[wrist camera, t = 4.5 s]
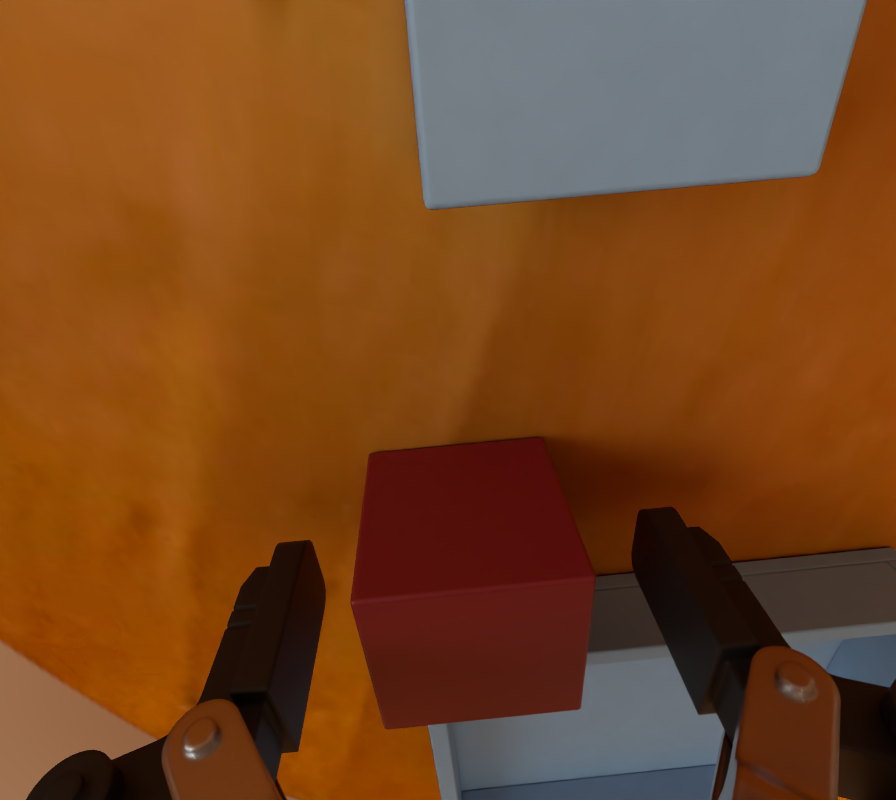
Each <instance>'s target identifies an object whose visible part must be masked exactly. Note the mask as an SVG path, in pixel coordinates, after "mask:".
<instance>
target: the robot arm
mask: <svg viewBox="0 0 896 800" xmlns="http://www.w3.org/2000/svg"><path fill="white" fill-rule="evenodd" d="M632 565H633V570H634V573H635V576H636V579H637V581H638V583H639V586H640V588H641V590H642V592H643V594H644V597H645V599H646V601H647V603H648V605H649V608H650V610H651V612H652V614H653V616H654V619H655V621H656V623H657V625H658V627H659V630H660V632H661V634H662V636H663V638H664V641H665V643H666V645H667V647H668V649H669V652H670V654H671V656H672V658H673V660H674V663H675V665H676V667H677V669H678V671H679V674H680V676H681V678H682V680H683V682H684V685H685V687H686V689H687V691H688V693H689V696H690V698H691V700H692V702H693V704H694V707H695V709H696V711H697V713H698V715H705V714H716V713H717V715H718V718H719V720H720V722H721V724H722V726H723V728H724V730H723V733H722V736H721V741H720V746H719V751H718V756H717V761H716V766H715V771H714V776H713V781H712V786H711V791H710V796H709V800H838V796H839V797H843V798H847V799H850V800H896V679H895V680H894V682H893V683H892V685H891V686H890V688H889V687H885V686H880V685H875V684H870V683H866V682H861V681H856V680H852V679H847V678H842V677H839V676H835V675H832V674H830V673H828V672H827V671H826V670H825V669H824V668H823V667H822V666H821V665H820V664H819V663H817V662H816V661H815V660H813V659H812V658H810V657H809V656H807V655H805V654H803V653H801V652H799V651H797V650H794V649H792V648H791V647H790V646H789V645H788V643H787V642H786V641H785V639H784V638H783V636H782V635H781V633H780V632H779V630H778V629H777V628H776V626H775V625H774V623H773V622H772V620H771V619H770V617H769V616H768V614H767V613H766V611H765V610H764V608H763V607H762V605H761V604H760V602H759V601H758V600H757V598H756V597H755V595H754V594H753V592H752V591H751V589H750V588H749V586H748V585H747V583H746V582H745V581H743V580H742V576H741V574H740V573H739V572H738V570H737V569H736V567H735V566H734V565H732V561H731V560H730V558H729V557H728V555H727V554H726V552H725V551H724V549H723V548H722V546H721V545H720V544H719V542H718V541H716V540H715V539H714V538H713V537H711V536H710V535H709V534H708V533H706V532H705V531H704V530H703V529H701V528H700V527H689V528H687V526H686V525H685V523H684V522H683V520H682V518H681V517H680V515H679V514H678V512H677V511H676V510H675V509H674V508H673V507H662V508H652V509H641V510H639V512H638V515H637V521H636V528H635V534H634V540H633V546H632ZM325 601H326V590H325V582H324V578H323V575H322V572H321V569H320V566H319V562H318V559H317V556H316V553H315V550H314V546H313V544H312V542H311V541H310V540H304V541H294V542H283V543H278V544H277V546H276V548H275V551H274V554H273V557H272V560H271V563H270V566H268V567H257V568H256V569H255V570H254V571H253V573H252V574H251V575H250V576H249V578H248V579H247V580H246V581H245V582H244V584H243V585H242V586H241V588H240V591H239V594H238V597H237V599H236V602H235V605H234V611H233V612H232V613H231V616H230V619H229V621H228V624H227V626H228V627H227V629H226V630H225V632H224V635H223V638H222V641H221V643H220V646H219V649H218V652H217V654H216V657H215V660H214V662H213V665H212V668H211V671H210V673H209V676H208V679H207V682H206V684H205V687H204V690H203V693H202V695H201V697H200V700H199V702H198V703H197V705H196V706H195V707H194V708H192V709H191V710H189V711H188V712H187V713H185V714H184V715H183V716H182V717H181V718H180V719H179V720H178V721H177V723H176V724H175V725H174V726H173V728H172V729H171V731H170V732H169V734H168V735H166V736H165V737H163V738H161V739H159V740H157V741H155V742H153V743H151V744H148V745H146V746H144V747H141V748H139V749H136V750H134V751H132V752H129V753H127V754H125V755H122V756H120V757H118V758H116V759H113V760H111V759H110V758H109V757H108V756H107V755H106V754H105V753H103V752H101V751H97V750H87V751H83V752H79V753H77V754H74V755H72V756H70V757H68V758H66V759H64V760H63V761H61V762H60V763H59V764H57V765H56V766H55V767H53V768H52V769H51V770H50V771H49V772H48V773H47V774H45V775H44V776H43V778H41V780H40V781H39V782H38V783H37V784H36V785H35V787H34V788H33V790H32V791H31V792H30V794H29V796H28V797H27V799H26V800H287V798H286V796H285V794H284V792H283V790H282V788H281V785H280V783H279V781H278V779H277V772H278V768H279V763H280V758H281V753H289V752H298V750H299V744H300V739H301V733H302V728H303V723H304V717H305V712H306V706H307V701H308V696H309V690H310V685H311V679H312V674H313V669H314V663H315V658H316V652H317V647H318V642H319V636H320V631H321V625H322V620H323V615H324V609H325Z"/></svg>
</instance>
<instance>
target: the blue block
mask: <svg viewBox="0 0 896 800" xmlns="http://www.w3.org/2000/svg"><path fill="white" fill-rule="evenodd" d="M404 1H405V12H406V23H407V33H408V44H409V55H410V65H411V76H412V87H413V97H414V108H415V119H416V129H417V140H418V151H419V161H420V171H421V180H422V190H423V199H424V204H425V206H426V208H428V209H431V210H438V209H449V208H461V207H472V206H483V205H494V204H505V203H517V202H528V201H539V200H550V199H561V198H573V197H584V196H595V195H606V194H617V193H629V192H640V191H651V190H662V189H673V188H685V187H696V186H707V185H718V184H729V183H741V182H752V181H763V180H774V179H785V178H797V177H808V176H810V175H813V174H815V173H817V171H818V170H819V168H820V165H821V161H822V157H823V154H824V150H825V147H826V143H827V140H828V136H829V133H830V129H831V126H832V122H833V119H834V115H835V112H836V108H837V105H838V101H839V98H840V94H841V91H842V87H843V84H844V80H845V77H846V73H847V70H848V66H849V62H850V59H851V55H852V52H853V48H854V45H855V41H856V38H857V34H858V31H859V27H860V24H861V20H862V17H863V13H864V10H865V6H866V3H867V0H404Z"/></svg>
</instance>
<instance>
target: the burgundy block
mask: <svg viewBox="0 0 896 800" xmlns="http://www.w3.org/2000/svg"><path fill="white" fill-rule="evenodd" d="M595 585H596V575H595V573H594V570H593V568H592V565H591V562H590V560H589V557H588V555H587V552H586V549H585V547H584V544H583V542H582V539H581V537H580V534H579V531H578V529H577V526H576V524H575V521H574V518H573V516H572V513H571V511H570V508H569V505H568V503H567V500H566V498H565V495H564V492H563V490H562V487H561V485H560V482H559V479H558V477H557V474H556V472H555V469H554V466H553V464H552V461H551V459H550V456H549V453H548V451H547V448H546V446H545V443H544V440H543V438H541V437H536V438H525V439H515V440H505V441H494V442H484V443H473V444H463V445H452V446H442V447H431V448H421V449H410V450H400V451H390V452H379V453H371V454H370V455H369V458H368V466H367V474H366V482H365V490H364V498H363V506H362V514H361V522H360V530H359V538H358V546H357V554H356V562H355V570H354V578H353V586H352V594H351V602H350V603H351V606H352V610H353V614H354V617H355V621H356V625H357V628H358V632H359V636H360V639H361V643H362V647H363V651H364V654H365V658H366V662H367V665H368V669H369V673H370V676H371V680H372V684H373V687H374V691H375V695H376V698H377V702H378V706H379V710H380V713H381V717H382V721H383V724H384V727H385V729H397V728H407V727H417V726H427V725H436V724H446V723H456V722H465V721H475V720H485V719H494V718H504V717H514V716H524V715H533V714H543V713H553V712H562V711H572V710H579V709H580V708H581V703H582V694H583V686H584V678H585V669H586V661H587V653H588V644H589V636H590V627H591V619H592V611H593V602H594V594H595Z"/></svg>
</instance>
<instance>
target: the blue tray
mask: <svg viewBox="0 0 896 800" xmlns="http://www.w3.org/2000/svg"><path fill="white" fill-rule="evenodd" d="M732 565H734V566H735V567H736V569H737V570H738V572H739V573H740V574H741V576H742V580H743V581H745V582H746V583H747V585H748V586H749V588H750V589H751V591H752V592H753V594H754V595H755V597H756V598H757V600H758V601H759V602H760V604H761V605H762V607H763V608H764V610H765V611H766V613H767V614H768V616H769V617H770V619H771V620H772V622H773V623H774V625H775V626H776V628H777V629H778V630H779V632H780V633H781V635H782V636H783V638H784V639H785V641H786V642H787V643H788V645H789V646H790V647H791V648H792V649H794V650H797V651H799V652H801V653H803V654H805V655H807V656H809V657H810V658H812V659H813V660H815V661H816V662H817V663H819V664H820V665H821V666H822V667H823V668H824V669H825V670H826V671H827V672H828V673H830V674H832V675H835V676H839V677H842V678H847V679H852V680H856V681H861V682H866V683H870V684H875V685H880V686H885V687H889V688H890V686H891V685H892V683H893V682H894V680H895V679H896V551H895V550H894V549H893V548H891V547H889V548H879V549H869V550H859V551H849V552H839V553H829V554H819V555H809V556H799V557H789V558H779V559H769V560H759V561H749V562H738V563H732ZM428 729H429V734H430V740H431V745H432V751H433V756H434V762H435V767H436V772H437V778H438V783H439V789H440V794H441V800H709V796H710V791H711V786H712V781H713V776H714V771H715V766H716V761H717V756H718V751H719V746H720V741H721V736H722V733H723V730H724V728H723V726H722V724H721V722H720V720H719V718H718V715H717V713H716V714H705V715H698V713H697V711H696V709H695V707H694V704H693V702H692V700H691V698H690V696H689V693H688V691H687V689H686V687H685V685H684V682H683V680H682V678H681V676H680V674H679V671H678V669H677V667H676V665H675V663H674V660H673V658H672V656H671V654H670V652H669V649H668V647H667V645H666V643H665V641H664V638H663V636H662V634H661V632H660V630H659V627H658V625H657V623H656V621H655V619H654V616H653V614H652V612H651V610H650V608H649V605H648V603H647V601H646V599H645V597H644V594H643V592H642V590H641V588H640V586H639V583H638V581H637V579H636V576H635V573H628V574H618V575H608V576H598V577H596V585H595V594H594V602H593V611H592V619H591V627H590V636H589V644H588V653H587V661H586V669H585V678H584V686H583V694H582V703H581V708H580V709H579V710H572V711H562V712H553V713H543V714H533V715H524V716H514V717H504V718H494V719H485V720H475V721H465V722H456V723H446V724H436V725H428Z"/></svg>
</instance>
